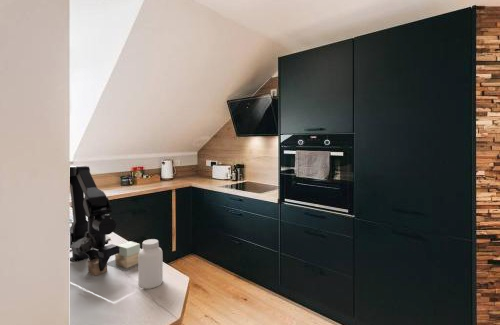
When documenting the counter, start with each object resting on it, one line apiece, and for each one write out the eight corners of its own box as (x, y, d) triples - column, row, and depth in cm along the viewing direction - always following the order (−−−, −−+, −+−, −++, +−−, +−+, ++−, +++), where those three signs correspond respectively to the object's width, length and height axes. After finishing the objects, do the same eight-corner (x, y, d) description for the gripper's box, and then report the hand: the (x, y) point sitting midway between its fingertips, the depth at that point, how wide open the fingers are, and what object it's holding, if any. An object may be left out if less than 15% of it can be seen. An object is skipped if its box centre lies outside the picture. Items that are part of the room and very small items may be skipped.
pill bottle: (155, 290, 91) (154, 246, 90) (133, 287, 93) (132, 244, 92) (167, 279, 99) (166, 238, 98) (146, 277, 101) (146, 236, 100)
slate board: (104, 265, 110) (104, 263, 110) (126, 256, 119) (126, 255, 119) (125, 272, 103) (125, 271, 103) (147, 263, 112) (147, 261, 112)
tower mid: (117, 254, 110) (117, 245, 109) (130, 249, 115) (130, 241, 115) (126, 257, 107) (126, 248, 106) (139, 252, 112) (139, 243, 112)
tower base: (115, 264, 110) (115, 254, 109) (130, 257, 116) (130, 248, 115) (126, 268, 106) (126, 258, 106) (141, 261, 112) (141, 252, 112)
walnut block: (88, 273, 102) (88, 261, 102) (100, 268, 106) (99, 257, 106) (95, 276, 100) (95, 264, 100) (107, 271, 104) (106, 259, 103)
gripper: (59, 230, 99) (61, 271, 100) (89, 239, 90) (90, 285, 91) (90, 222, 109) (91, 261, 110) (120, 230, 100) (121, 272, 101)
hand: (97, 269), depth 103 cm, fingers closed on walnut block, 4 cm apart
